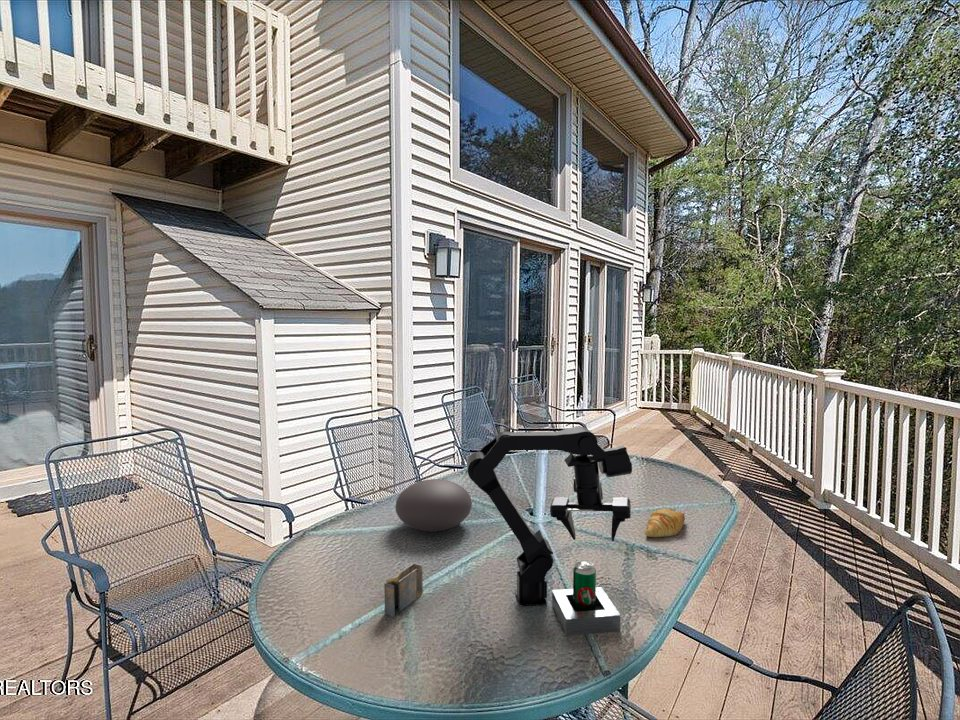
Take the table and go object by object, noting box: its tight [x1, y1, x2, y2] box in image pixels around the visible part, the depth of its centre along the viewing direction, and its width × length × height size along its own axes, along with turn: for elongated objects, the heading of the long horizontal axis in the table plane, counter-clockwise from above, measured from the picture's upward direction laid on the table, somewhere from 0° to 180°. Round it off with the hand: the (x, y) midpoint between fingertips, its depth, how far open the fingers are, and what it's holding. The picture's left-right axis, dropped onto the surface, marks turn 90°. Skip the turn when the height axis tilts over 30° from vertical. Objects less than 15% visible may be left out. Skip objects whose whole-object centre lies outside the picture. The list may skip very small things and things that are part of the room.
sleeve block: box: [551, 586, 621, 636], centre depth 117 cm, size 12×12×4 cm
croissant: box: [644, 508, 686, 538], centre depth 165 cm, size 21×10×8 cm, turn 131°
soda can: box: [572, 560, 597, 612], centre depth 117 cm, size 5×5×12 cm
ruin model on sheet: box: [383, 562, 424, 617], centre depth 123 cm, size 11×3×10 cm, turn 151°
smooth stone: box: [394, 478, 473, 533], centre depth 169 cm, size 25×25×15 cm
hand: (593, 539), depth 127 cm, fingers open, 9 cm apart
